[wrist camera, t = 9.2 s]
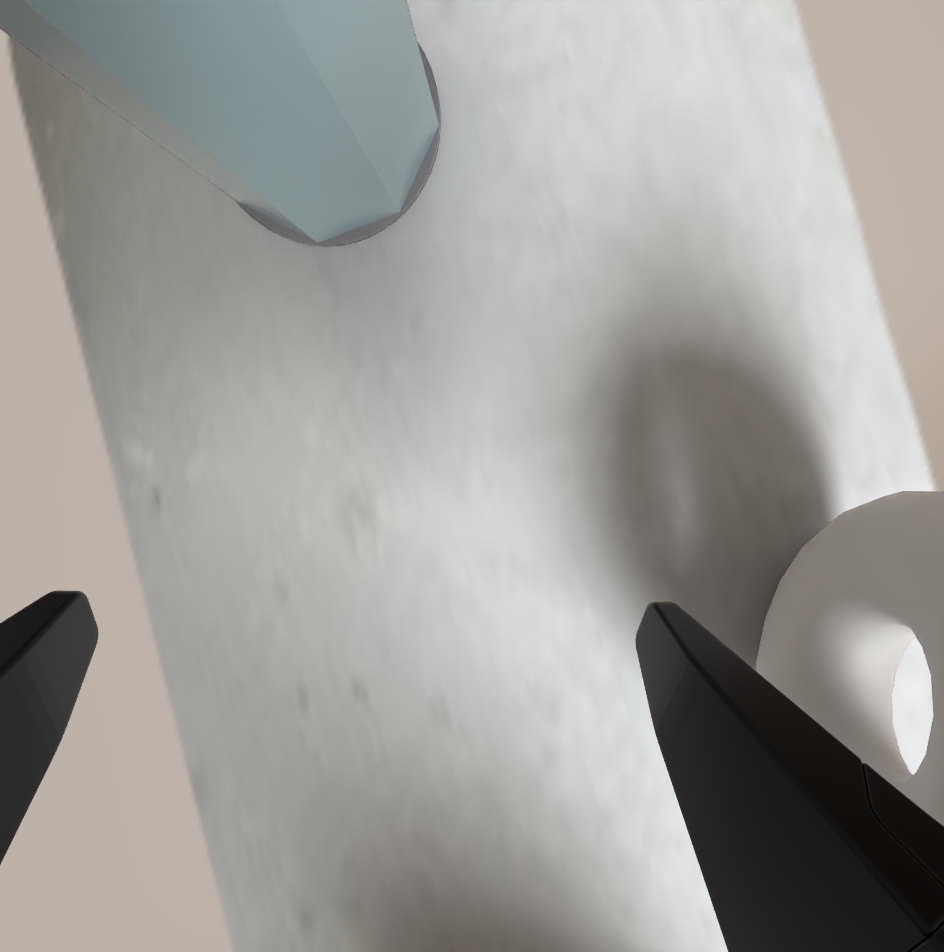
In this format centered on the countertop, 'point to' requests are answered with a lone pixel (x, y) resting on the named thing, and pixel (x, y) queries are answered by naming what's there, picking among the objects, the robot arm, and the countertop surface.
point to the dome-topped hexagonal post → (257, 94)
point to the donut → (865, 631)
